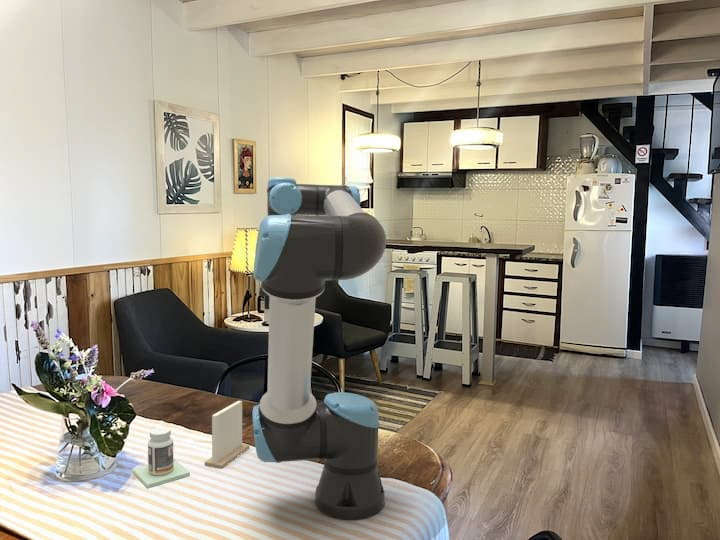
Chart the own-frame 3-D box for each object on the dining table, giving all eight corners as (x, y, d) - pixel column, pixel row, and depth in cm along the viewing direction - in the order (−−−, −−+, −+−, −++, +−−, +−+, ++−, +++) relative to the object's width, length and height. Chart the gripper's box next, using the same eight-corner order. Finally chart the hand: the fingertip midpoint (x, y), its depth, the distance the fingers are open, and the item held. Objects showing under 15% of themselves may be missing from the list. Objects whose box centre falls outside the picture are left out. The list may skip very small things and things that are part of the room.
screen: (233, 445, 150) (233, 399, 149) (249, 448, 148) (249, 401, 147) (204, 465, 138) (204, 415, 137) (221, 468, 136) (221, 417, 135)
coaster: (189, 475, 132) (189, 472, 132) (147, 488, 126) (147, 484, 126) (173, 461, 140) (173, 457, 140) (132, 472, 133) (132, 469, 133)
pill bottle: (177, 466, 135) (177, 426, 134) (167, 477, 129) (166, 435, 128) (155, 464, 136) (154, 425, 135) (143, 475, 130) (143, 434, 129)
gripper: (288, 235, 159) (287, 309, 161) (245, 238, 135) (245, 324, 137) (312, 236, 157) (311, 311, 159) (273, 239, 133) (273, 326, 135)
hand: (280, 317), depth 148 cm, fingers open, 13 cm apart
